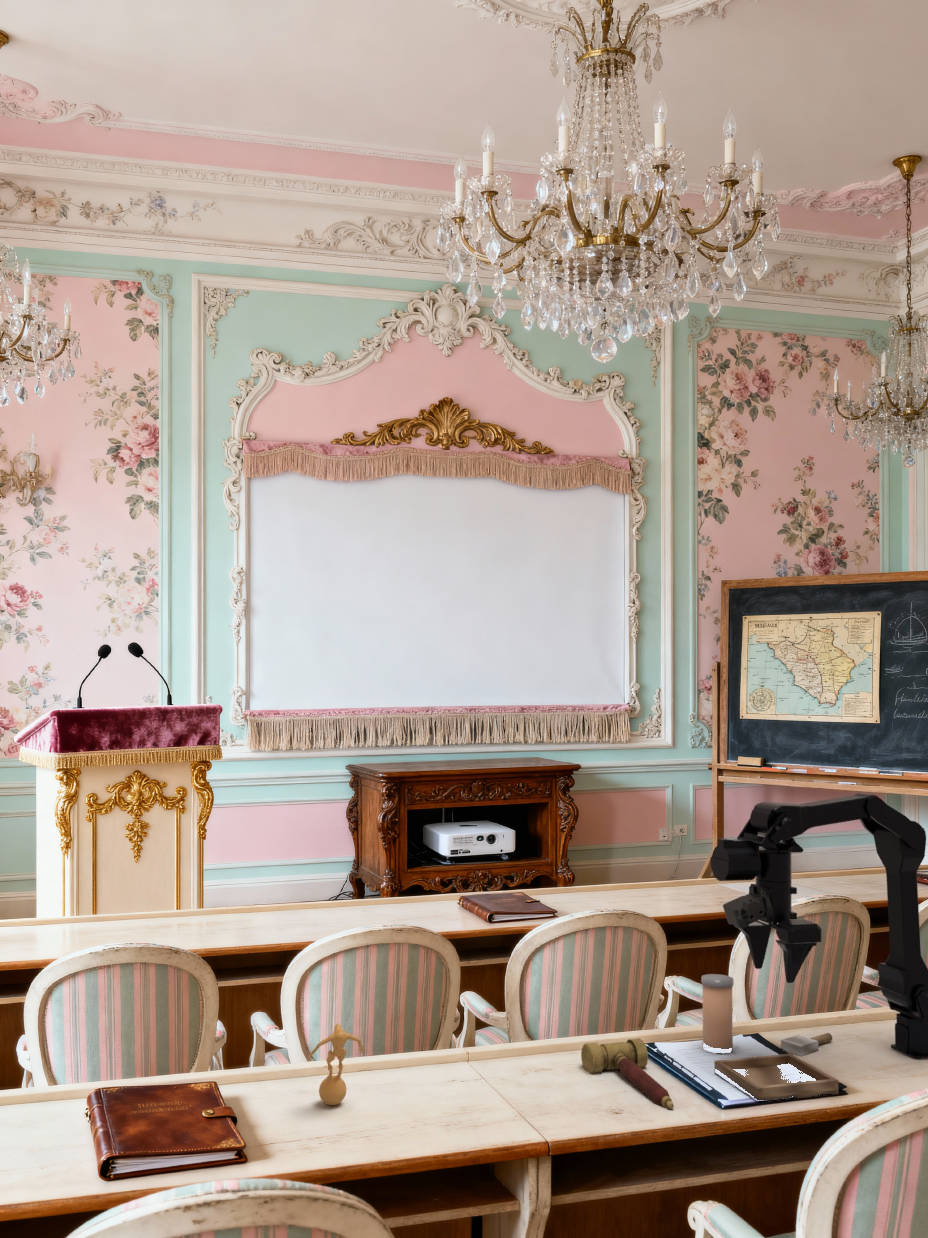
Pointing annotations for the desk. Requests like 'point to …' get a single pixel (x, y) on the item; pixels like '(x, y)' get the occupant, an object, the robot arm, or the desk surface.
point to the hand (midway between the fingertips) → (773, 975)
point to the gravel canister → (717, 1011)
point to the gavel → (625, 1066)
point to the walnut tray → (776, 1077)
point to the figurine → (334, 1086)
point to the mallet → (804, 1043)
